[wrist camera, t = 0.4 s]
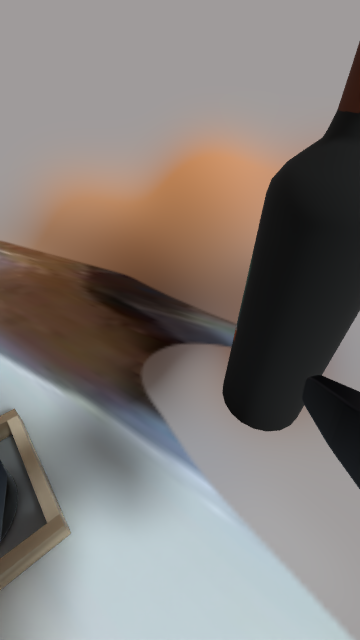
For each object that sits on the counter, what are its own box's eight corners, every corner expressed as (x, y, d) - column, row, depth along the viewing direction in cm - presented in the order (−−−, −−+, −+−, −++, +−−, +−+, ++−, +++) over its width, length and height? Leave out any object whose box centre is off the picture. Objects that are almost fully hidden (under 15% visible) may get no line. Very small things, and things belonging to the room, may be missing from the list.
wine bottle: (225, 428, 25) (433, -316, 6) (220, 363, 31) (315, -120, 11) (309, 434, 25) (823, -307, 6) (289, 367, 31) (506, -114, 11)
